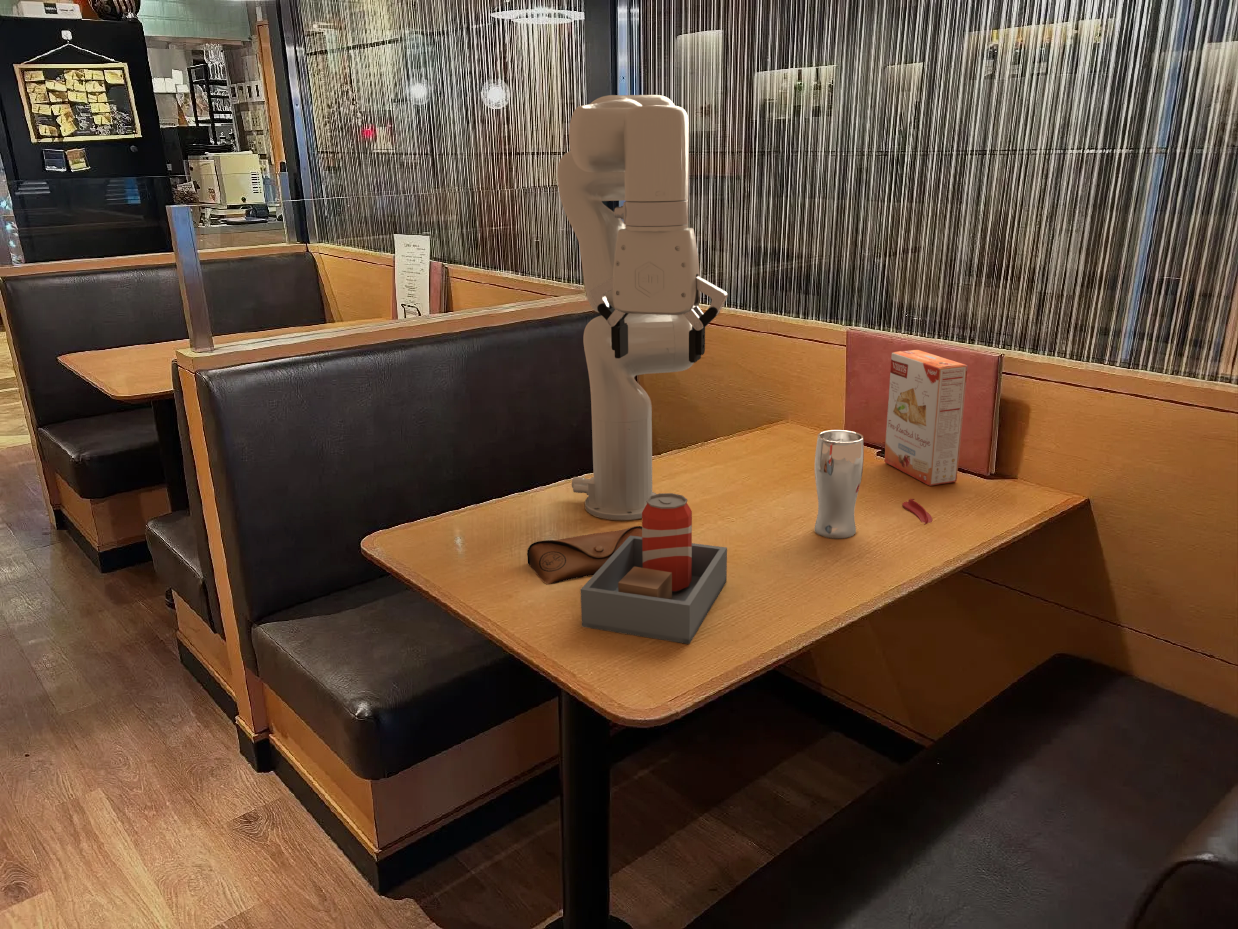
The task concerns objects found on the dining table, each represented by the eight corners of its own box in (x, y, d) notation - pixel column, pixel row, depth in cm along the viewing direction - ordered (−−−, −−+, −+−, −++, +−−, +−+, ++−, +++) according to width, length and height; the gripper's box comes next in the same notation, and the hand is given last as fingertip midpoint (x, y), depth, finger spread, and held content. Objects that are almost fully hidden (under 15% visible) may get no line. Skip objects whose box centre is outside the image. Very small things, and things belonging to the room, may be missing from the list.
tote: (581, 626, 112) (580, 589, 110) (630, 568, 128) (630, 535, 126) (689, 644, 107) (689, 605, 106) (726, 582, 123) (727, 547, 121)
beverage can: (679, 572, 125) (679, 489, 121) (698, 591, 119) (698, 505, 115) (637, 579, 123) (635, 495, 119) (654, 599, 117) (653, 511, 113)
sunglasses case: (544, 586, 123) (535, 537, 124) (532, 592, 129) (523, 546, 130) (667, 563, 129) (657, 517, 130) (650, 570, 135) (640, 526, 137)
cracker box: (881, 463, 169) (889, 351, 163) (910, 459, 171) (919, 348, 165) (927, 487, 157) (938, 366, 150) (957, 483, 158) (969, 363, 152)
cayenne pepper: (901, 500, 152) (902, 489, 152) (931, 502, 151) (932, 491, 150) (900, 526, 141) (901, 515, 141) (932, 529, 140) (933, 518, 139)
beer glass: (859, 541, 135) (866, 443, 130) (811, 538, 136) (816, 441, 132) (857, 524, 141) (864, 430, 137) (811, 521, 143) (816, 428, 138)
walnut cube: (634, 602, 116) (634, 566, 115) (671, 609, 115) (671, 572, 113) (619, 620, 112) (618, 582, 111) (657, 627, 110) (657, 589, 109)
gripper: (577, 218, 109) (582, 360, 115) (719, 218, 103) (717, 368, 109) (600, 214, 116) (604, 349, 121) (735, 214, 110) (732, 356, 115)
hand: (657, 358), depth 115 cm, fingers open, 9 cm apart
